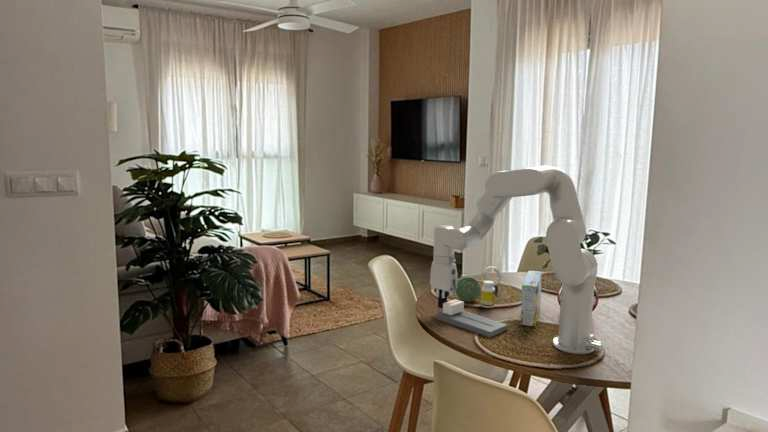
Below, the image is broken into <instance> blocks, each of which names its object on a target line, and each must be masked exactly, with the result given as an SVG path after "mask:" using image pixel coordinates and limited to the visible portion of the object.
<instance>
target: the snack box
mask: <svg viewBox="0 0 768 432" xmlns="http://www.w3.org/2000/svg"><path fill="white" fill-rule="evenodd" d="M542 273H543V272H542V271H540V270H539V271H537V270H528V271H527V274H526V276H525V278H524V280H523V282H522V284H521V310H520V311H521V314H520V315H521V317H520V326H523V325H526V326H525V327H531V326H534V327H533V328H536V327H537V326H536V325H537V321H538V318H539V315H540V312H541V300H542V299H541V298H542Z"/></svg>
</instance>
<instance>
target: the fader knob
mask: <svg viewBox="0 0 768 432" xmlns="http://www.w3.org/2000/svg"><path fill="white" fill-rule="evenodd" d="M464 306H465V301H463V300H461V299H460V300H459V299H456V298H455V299H452V300H450V301H447V302H445V303H443V308H442V311H443V313H446V314H449V315H454V314H457V313H459V312H462V311H465V309H464V308H465V307H464Z"/></svg>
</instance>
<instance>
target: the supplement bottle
mask: <svg viewBox="0 0 768 432" xmlns="http://www.w3.org/2000/svg"><path fill="white" fill-rule="evenodd" d="M494 283H495V282H494V281H493V280H487V281H485V280H483V286H482V287H480V288H481V290H480V302H479V303H480V306H481V307H482V308H486V309H491V308H494V307H495V298H496V297H495V296H496V294H495V288H494V287H493V286H494Z"/></svg>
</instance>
